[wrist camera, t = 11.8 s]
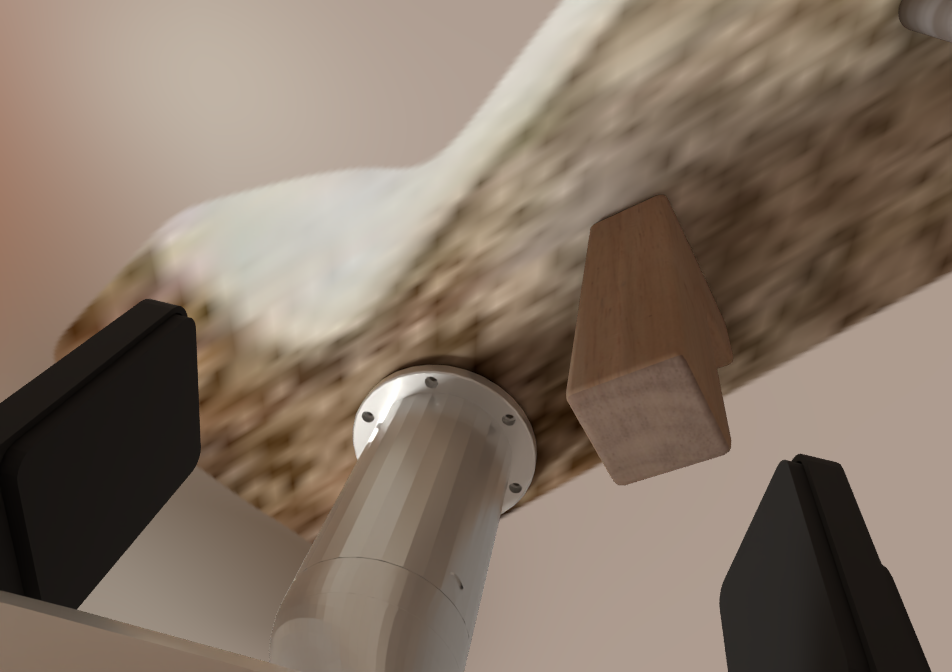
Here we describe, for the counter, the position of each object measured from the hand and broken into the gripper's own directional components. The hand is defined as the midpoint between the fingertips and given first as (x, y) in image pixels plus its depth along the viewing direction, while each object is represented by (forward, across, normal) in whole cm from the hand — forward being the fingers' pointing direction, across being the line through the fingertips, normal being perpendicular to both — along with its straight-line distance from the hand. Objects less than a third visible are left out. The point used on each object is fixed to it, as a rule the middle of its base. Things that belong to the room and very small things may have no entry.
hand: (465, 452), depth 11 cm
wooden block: (+31, -6, +9) cm, 32 cm away
